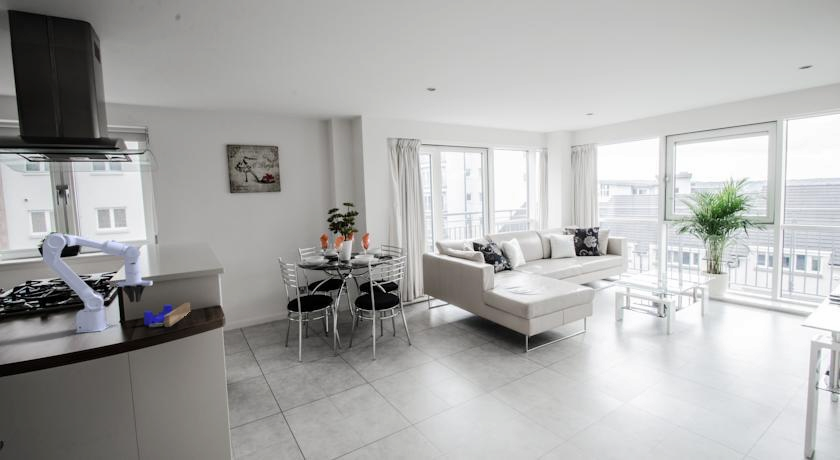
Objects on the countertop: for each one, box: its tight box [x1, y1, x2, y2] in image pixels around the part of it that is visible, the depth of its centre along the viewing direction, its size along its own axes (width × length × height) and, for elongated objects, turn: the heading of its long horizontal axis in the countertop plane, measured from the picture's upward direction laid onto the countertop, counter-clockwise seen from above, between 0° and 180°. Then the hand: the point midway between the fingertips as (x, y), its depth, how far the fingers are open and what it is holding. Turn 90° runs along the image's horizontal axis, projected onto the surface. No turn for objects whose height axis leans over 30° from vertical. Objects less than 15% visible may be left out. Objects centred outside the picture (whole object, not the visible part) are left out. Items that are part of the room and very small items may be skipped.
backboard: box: [164, 302, 192, 328], centre depth 177 cm, size 2×21×5 cm, turn 9°
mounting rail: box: [148, 320, 165, 328], centre depth 176 cm, size 7×18×2 cm, turn 9°
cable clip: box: [143, 304, 173, 326], centre depth 175 cm, size 12×4×6 cm, turn 169°
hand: (135, 301), depth 173 cm, fingers closed
